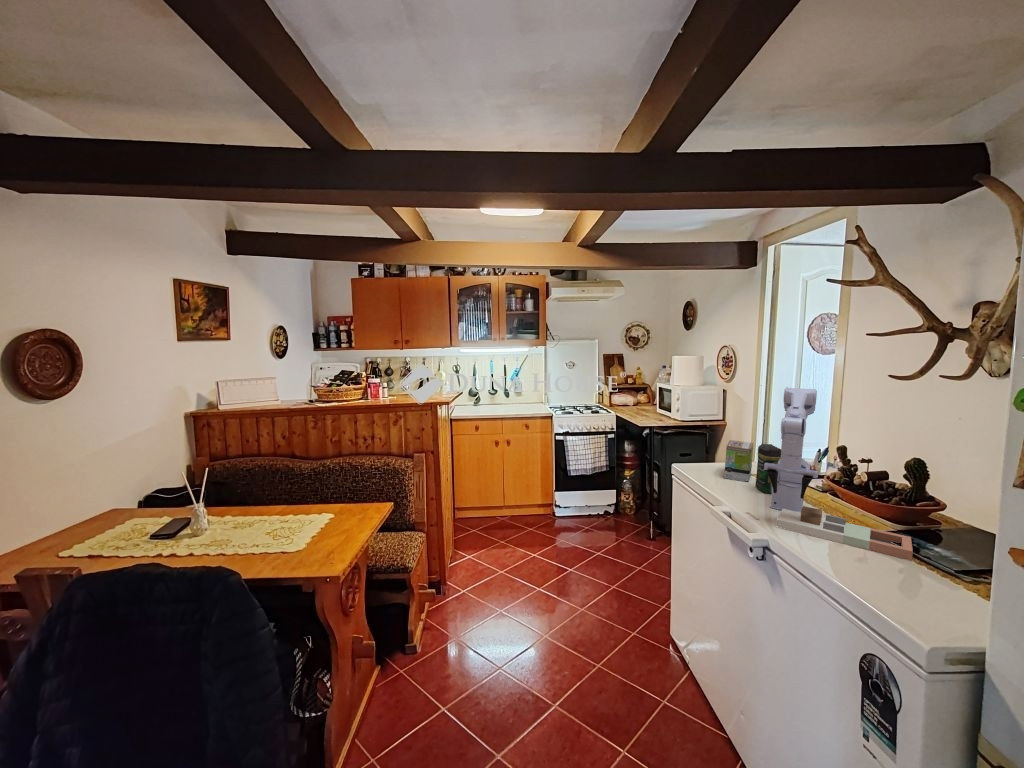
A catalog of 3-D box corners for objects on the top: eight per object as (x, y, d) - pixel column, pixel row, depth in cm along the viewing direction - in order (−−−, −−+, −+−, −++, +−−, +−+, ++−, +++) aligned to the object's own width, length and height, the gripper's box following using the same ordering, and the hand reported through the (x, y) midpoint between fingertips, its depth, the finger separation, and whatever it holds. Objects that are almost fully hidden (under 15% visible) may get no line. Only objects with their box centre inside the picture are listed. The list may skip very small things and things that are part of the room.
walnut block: (800, 521, 135) (801, 510, 135) (802, 516, 139) (803, 506, 139) (819, 525, 132) (820, 514, 132) (821, 520, 136) (822, 510, 136)
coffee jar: (752, 486, 177) (755, 442, 175) (772, 487, 176) (775, 442, 174) (762, 494, 167) (765, 447, 165) (784, 495, 166) (787, 448, 164)
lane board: (775, 526, 137) (776, 513, 137) (782, 515, 146) (783, 503, 146) (911, 560, 116) (913, 545, 116) (909, 545, 125) (911, 531, 125)
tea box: (749, 482, 181) (751, 448, 180) (723, 478, 187) (725, 445, 185) (751, 473, 194) (753, 441, 193) (727, 470, 199) (728, 439, 198)
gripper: (763, 452, 140) (760, 492, 141) (817, 460, 130) (813, 503, 131) (767, 448, 145) (765, 487, 146) (819, 456, 136) (816, 497, 137)
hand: (788, 494), depth 139 cm, fingers open, 7 cm apart
